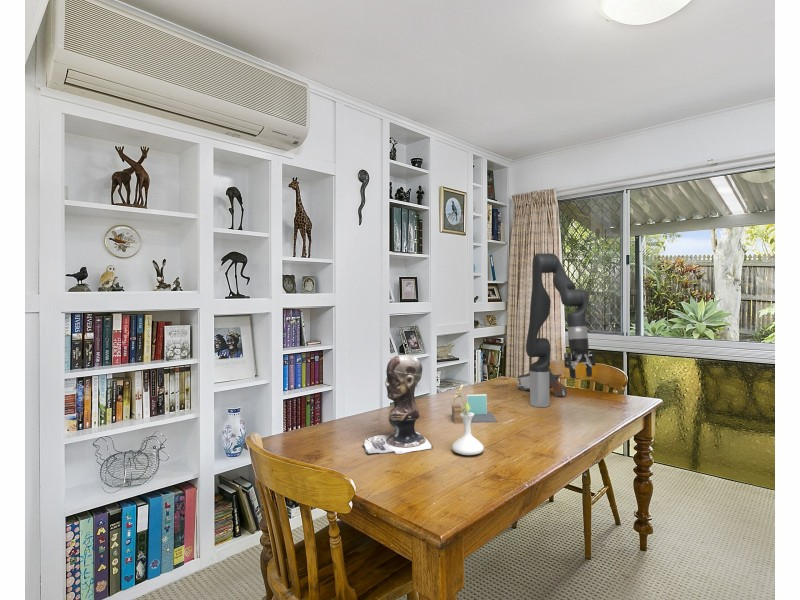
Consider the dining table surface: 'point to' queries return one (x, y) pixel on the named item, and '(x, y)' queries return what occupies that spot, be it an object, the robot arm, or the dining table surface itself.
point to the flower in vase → (466, 432)
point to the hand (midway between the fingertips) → (581, 377)
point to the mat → (484, 418)
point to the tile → (477, 404)
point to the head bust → (401, 409)
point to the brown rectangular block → (457, 414)
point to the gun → (553, 382)
